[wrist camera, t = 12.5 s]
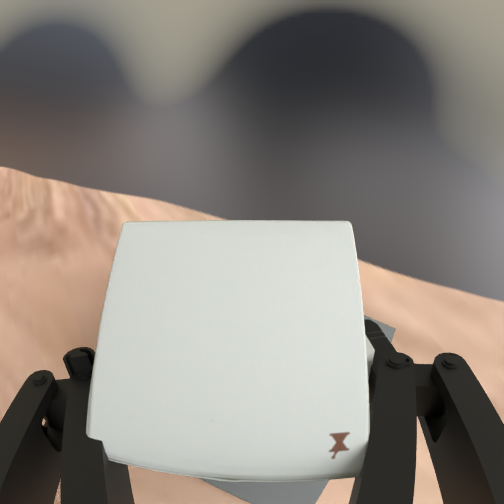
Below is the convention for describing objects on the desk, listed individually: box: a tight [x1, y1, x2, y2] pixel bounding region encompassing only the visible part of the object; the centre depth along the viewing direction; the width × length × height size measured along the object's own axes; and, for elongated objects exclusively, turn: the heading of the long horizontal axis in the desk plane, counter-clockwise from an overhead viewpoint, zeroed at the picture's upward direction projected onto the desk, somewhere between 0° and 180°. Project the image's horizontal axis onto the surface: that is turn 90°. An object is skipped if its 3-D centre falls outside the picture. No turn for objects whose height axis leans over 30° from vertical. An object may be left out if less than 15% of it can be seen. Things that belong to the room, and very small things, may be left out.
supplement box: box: [86, 220, 370, 482], centre depth 13 cm, size 7×7×13 cm
